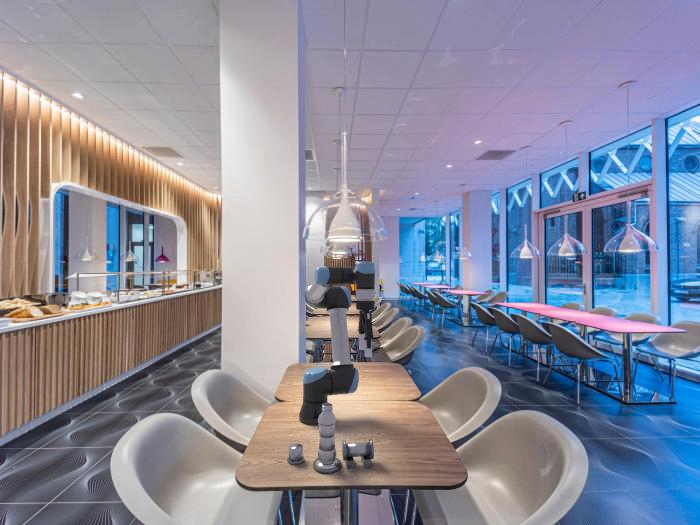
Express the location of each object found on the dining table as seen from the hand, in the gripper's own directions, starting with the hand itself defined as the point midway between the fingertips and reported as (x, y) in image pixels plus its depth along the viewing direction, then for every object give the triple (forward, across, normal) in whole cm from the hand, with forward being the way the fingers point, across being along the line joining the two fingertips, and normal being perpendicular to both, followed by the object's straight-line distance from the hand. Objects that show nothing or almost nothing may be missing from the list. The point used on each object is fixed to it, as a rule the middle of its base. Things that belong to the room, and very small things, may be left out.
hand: (365, 353), depth 145 cm
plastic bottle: (+36, -12, +16) cm, 41 cm away
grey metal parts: (+37, -13, +10) cm, 40 cm away
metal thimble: (+37, -7, +27) cm, 46 cm away
